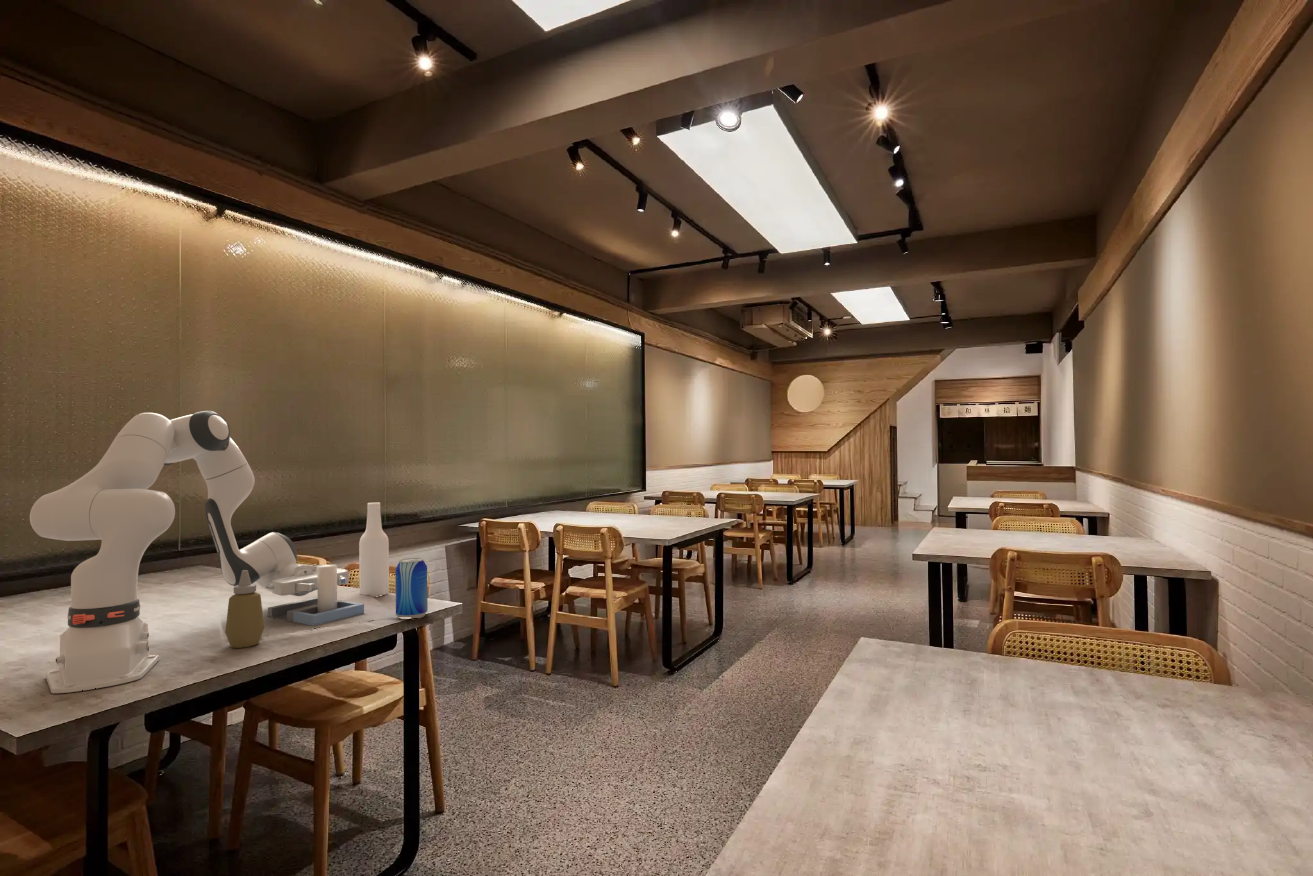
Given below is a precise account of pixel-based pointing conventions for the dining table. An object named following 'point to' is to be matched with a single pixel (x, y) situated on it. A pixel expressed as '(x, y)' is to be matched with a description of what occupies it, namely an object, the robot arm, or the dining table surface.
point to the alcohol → (374, 555)
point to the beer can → (411, 588)
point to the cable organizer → (314, 612)
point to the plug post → (327, 587)
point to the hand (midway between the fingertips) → (328, 584)
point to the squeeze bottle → (244, 614)
